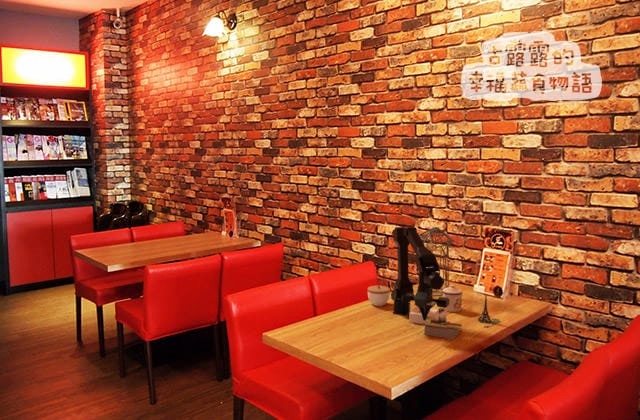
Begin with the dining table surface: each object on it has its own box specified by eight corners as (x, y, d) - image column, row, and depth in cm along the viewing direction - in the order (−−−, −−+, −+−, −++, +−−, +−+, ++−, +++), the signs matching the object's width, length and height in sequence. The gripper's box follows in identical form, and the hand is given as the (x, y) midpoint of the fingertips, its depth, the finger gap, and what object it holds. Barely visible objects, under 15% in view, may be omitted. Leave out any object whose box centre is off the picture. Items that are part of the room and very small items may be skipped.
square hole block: (409, 322, 234) (409, 313, 234) (415, 315, 243) (415, 306, 243) (432, 325, 230) (432, 316, 229) (437, 318, 239) (438, 309, 238)
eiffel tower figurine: (487, 329, 226) (488, 298, 224) (466, 323, 233) (466, 293, 231) (505, 321, 236) (506, 291, 234) (484, 316, 243) (485, 287, 242)
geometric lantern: (443, 289, 285) (446, 224, 280) (452, 298, 270) (456, 230, 265) (414, 289, 284) (416, 224, 279) (421, 299, 269) (424, 230, 264)
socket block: (424, 334, 219) (424, 327, 219) (430, 326, 228) (430, 320, 228) (454, 339, 214) (454, 331, 213) (459, 331, 223) (459, 324, 222)
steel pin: (437, 333, 220) (437, 309, 219) (439, 330, 223) (439, 307, 222) (445, 334, 219) (445, 310, 218) (446, 332, 222) (447, 308, 220)
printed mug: (456, 313, 245) (457, 288, 244) (438, 310, 251) (439, 285, 249) (467, 307, 254) (468, 283, 253) (449, 303, 260) (450, 280, 258)
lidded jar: (365, 306, 257) (365, 287, 256) (370, 300, 267) (370, 281, 266) (387, 308, 254) (387, 289, 252) (391, 302, 264) (392, 283, 262)
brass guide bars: (425, 325, 221) (425, 318, 220) (429, 320, 226) (429, 314, 226) (459, 330, 215) (459, 323, 214) (462, 325, 220) (462, 318, 220)
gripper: (397, 285, 219) (397, 322, 220) (443, 290, 210) (442, 329, 212) (405, 279, 228) (405, 315, 230) (450, 284, 220) (449, 321, 222)
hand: (424, 320), depth 223 cm, fingers closed
